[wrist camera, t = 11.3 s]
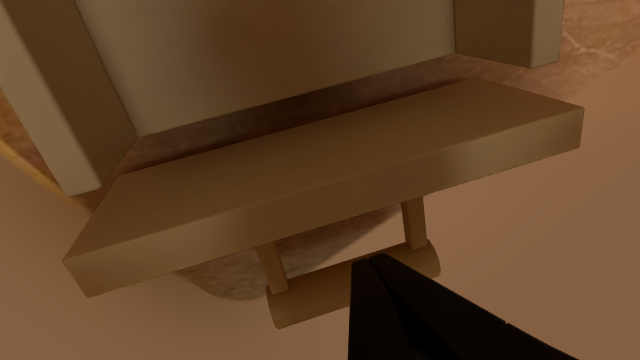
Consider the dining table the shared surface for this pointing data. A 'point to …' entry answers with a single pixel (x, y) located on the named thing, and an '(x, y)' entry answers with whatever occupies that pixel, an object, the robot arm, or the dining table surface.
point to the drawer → (277, 148)
